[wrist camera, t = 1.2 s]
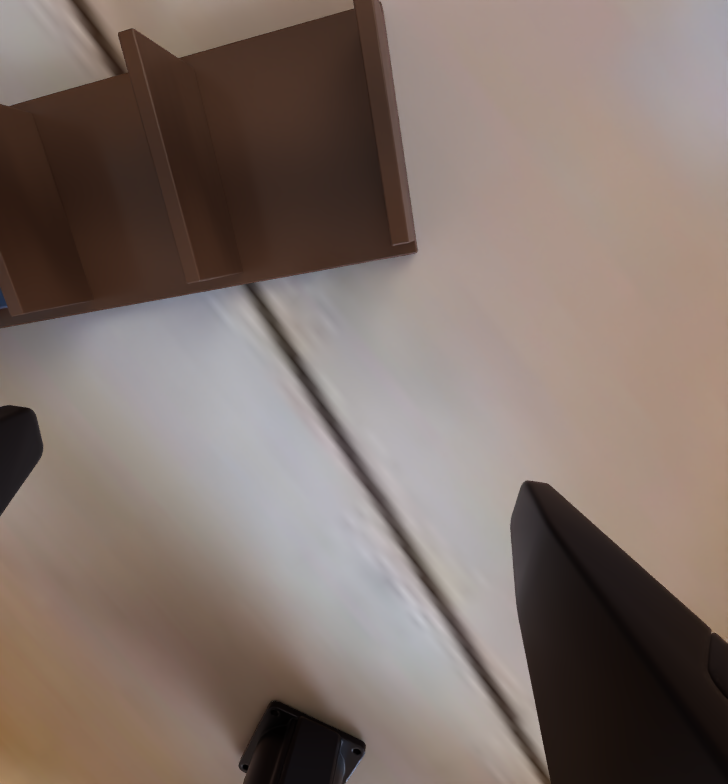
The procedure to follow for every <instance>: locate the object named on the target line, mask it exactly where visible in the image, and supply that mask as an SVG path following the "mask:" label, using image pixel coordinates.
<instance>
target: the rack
mask: <svg viewBox="0 0 728 784" xmlns="http://www.w3.org/2000/svg"><path fill="white" fill-rule="evenodd" d="M353 3H354V9H351V10H348V11H344V12H340V13H337V14H333V15H330V16H326V17H323V18H319V19H316V20H312V21H309V22H305V23H302V24H298V25H294V26H291V27H287V28H284V29H280V30H277V31H273V32H270V33H266V34H263V35H259V36H255V37H252V38H248V39H245V40H241V41H238V42H234V43H231V44H227V45H224V46H220V47H217V48H213V49H209V50H206V51H202V52H199V53H195V54H192V55H188V56H185V57H181V58H177V57H176V56H174V55H173V54H171V53H170V52H168V51H167V50H165V49H164V48H162V47H161V46H159V45H158V44H156V43H155V42H153V41H152V40H150V39H149V38H147V37H146V36H144V35H143V34H141V33H140V32H138V31H136V30H135V29H133V28H131V29H128V30H125V31H121V32H119V33H118V37H119V40H120V44H121V48H122V51H123V55H124V59H125V62H126V66H127V69H128V73H124V74H121V75H117V76H114V77H110V78H107V79H103V80H100V81H96V82H93V83H89V84H86V85H82V86H78V87H75V88H71V89H68V90H64V91H61V92H57V93H54V94H50V95H47V96H43V97H39V98H36V99H32V100H29V101H25V102H22V103H18V104H15V105H11V106H5V105H2V104H0V288H1V291H2V293H3V296H4V299H5V301H6V304H7V307H8V308H3V309H0V328H5V327H10V326H16V325H21V324H27V323H33V322H38V321H44V320H49V319H55V318H60V317H66V316H71V315H77V314H82V313H88V312H93V311H99V310H104V309H110V308H116V307H121V306H127V305H132V304H138V303H143V302H149V301H154V300H160V299H165V298H171V297H176V296H182V295H187V294H193V293H199V292H204V291H210V290H215V289H221V288H226V287H232V286H237V285H243V284H248V283H254V282H259V281H265V280H270V279H276V278H282V277H287V276H293V275H298V274H304V273H309V272H315V271H320V270H326V269H331V268H337V267H342V266H348V265H354V264H359V263H365V262H370V261H376V260H381V259H387V258H392V257H398V256H403V255H409V254H414V253H417V251H418V249H417V242H416V235H415V228H414V221H413V214H412V207H411V200H410V193H409V186H408V179H407V172H406V165H405V158H404V151H403V145H402V138H401V131H400V124H399V117H398V110H397V103H396V96H395V89H394V82H393V75H392V68H391V61H390V54H389V47H388V40H387V33H386V26H385V19H384V12H383V8H382V4H381V2H379V0H353Z"/></svg>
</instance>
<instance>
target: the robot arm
mask: <svg viewBox="0 0 728 784" xmlns="http://www.w3.org/2000/svg"><path fill="white" fill-rule="evenodd" d="M42 453H43V442H42V438H41V434H40V430H39V425H38V421H37V417H36V414H35V413H34V411H33V410H31V409H30V408H26V407H19V406H12V405H7V406H2V407H0V516H1V514H2V513H3V511H4V510H5V509H6V507H7V506H8V504H9V503H10V501H11V500H12V499H13V497H14V496H15V494H16V493H17V491H18V490H19V488H20V487H21V486H22V484H23V483H24V481H25V480H26V478H27V477H28V476H29V474H30V473H31V471H32V470H33V468H34V467H35V466H36V464H37V463H38V461H39V460H40V458H41V456H42ZM510 530H511V543H512V556H513V569H514V582H515V595H516V605H517V612H518V618H519V624H520V629H521V634H522V639H523V644H524V649H525V654H526V659H527V664H528V669H529V674H530V679H531V684H532V689H533V694H534V699H535V704H536V709H537V715H538V720H539V725H540V730H541V735H542V740H543V745H544V750H545V755H546V760H547V765H548V770H549V775H550V780H551V784H728V643H727V642H725V641H724V640H723V639H722V638H721V637H720V636H719V635H718V634H716V633H712V634H711V629H710V627H708V626H707V625H706V624H705V623H704V622H703V621H702V620H701V619H699V618H698V617H697V616H696V615H695V614H694V613H693V612H692V611H690V610H689V609H688V608H687V607H686V606H685V605H684V604H683V603H682V602H680V601H679V600H678V599H677V598H676V597H675V596H674V595H673V594H671V593H670V592H669V591H668V590H667V589H666V588H665V587H664V586H662V585H661V584H660V583H659V582H658V581H657V580H656V579H655V578H654V577H652V576H651V575H650V574H649V573H648V572H647V571H646V570H645V569H643V568H642V567H641V566H640V565H639V564H638V563H637V562H636V561H634V560H633V559H632V558H631V557H630V556H629V555H628V554H627V553H625V552H624V551H623V550H622V549H621V548H620V547H619V546H618V545H617V544H615V543H614V542H613V541H612V540H611V539H610V538H609V537H608V536H606V535H605V534H604V533H603V532H602V531H601V530H600V529H599V528H597V527H596V526H595V525H594V524H593V523H592V522H591V521H590V520H589V519H587V518H586V517H585V516H584V515H583V514H582V513H581V512H580V511H578V510H577V509H576V508H575V507H574V506H573V505H572V504H571V503H569V502H568V501H567V500H566V499H565V498H564V497H563V496H562V495H560V494H559V493H558V492H557V491H556V490H555V489H554V488H553V487H552V486H550V485H549V484H547V483H542V482H535V481H525V482H524V483H523V484H522V486H521V488H520V491H519V494H518V497H517V501H516V504H515V507H514V510H513V513H512V517H511V524H510ZM365 749H366V745H365V743H364V742H363V741H361V740H359V739H357V738H355V737H353V736H351V735H349V734H347V733H344V732H342V731H340V730H338V729H336V728H334V727H332V726H330V725H327V724H325V723H323V722H321V721H319V720H317V719H315V718H313V717H310V716H308V715H306V714H304V713H302V712H300V711H298V710H295V709H293V708H291V707H289V706H287V705H285V704H283V703H281V702H278V701H272V702H271V703H270V704H269V706H268V707H267V709H266V711H265V713H264V715H263V717H262V719H261V721H260V723H259V725H258V727H257V729H256V730H255V732H254V734H253V736H252V738H251V740H250V742H249V744H248V746H247V748H246V750H245V752H244V754H243V755H242V757H241V760H240V763H239V768H240V770H241V771H243V772H245V773H247V774H246V776H245V779H244V782H243V784H346V782H347V781H348V779H349V777H350V776H351V774H352V773H353V771H354V770H355V768H356V767H357V765H358V764H359V762H360V761H361V759H362V758H363V756H364V754H365Z"/></svg>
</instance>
